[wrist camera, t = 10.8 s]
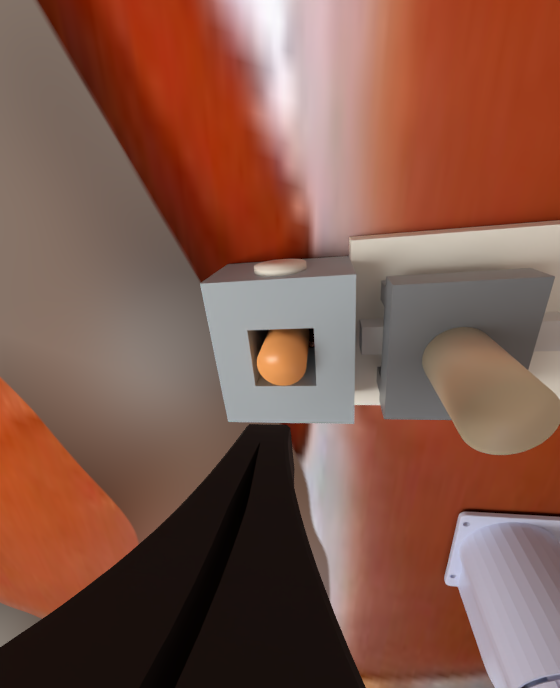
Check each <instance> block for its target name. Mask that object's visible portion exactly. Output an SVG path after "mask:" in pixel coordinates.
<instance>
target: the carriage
mask: <svg viewBox="0 0 560 688" xmlns="http://www.w3.org/2000/svg"><path fill="white" fill-rule="evenodd" d="M554 279H555V276H552V275H550V274H547V273H544V272H541V271H538V270H535V269H533V268H519V269H502V270H484V271H467V272H450V273H433V274H416V275H398V276H386V280H381V299H380V300H381V301H382V303H383V305H384V324H383V342H382V360H381V367H377V381H376V382H377V385H378V389H379V392H380V396H379V401H380V405H381V409H382V413H383V417H384V419H416V420H452V421H453V423H454V425H455V427H456V428H457V430H458V432H459V434H460V435H461V437H462V439H463V440H464V441H465V442H466V443H467V444H468V445H469V446H470V447H472V448H474V449H475V450H478V451H480V452H483V453H487V454H493V455H509V454H515V453H520V452H523V451H526V450H529V449H531V448H534V447H536V446H537V445H539V444H541V443H542V442H544V441H545V440H547V439H548V438H549V437H550V436H551V435H552V434H553V433H554V432H555V430H556V429H557V427H558V426H559V424H560V400H559V398H558V396H557V395H556V394H555V393H554V392H553V391H552V390H550V389H549V388H548V387H547V386H546V385H545V384H544V383H542V382H541V381H540V380H539V379H538V378H537V377H535V376H534V375H533V374H532V373H531V372H530V371H528V369H529V366H530V362H531V359H532V355H533V352H534V348H535V345H536V341H537V338H538V334H539V331H540V328H541V324H542V321H543V317H544V314H545V310H546V307H547V303H548V300H549V297H550V293H551V290H552V286H553V283H554Z"/></svg>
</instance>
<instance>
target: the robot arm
mask: <svg viewBox="0 0 560 688" xmlns="http://www.w3.org/2000/svg"><path fill="white" fill-rule="evenodd" d="M444 580H445V583H446V584H447V585H449V586H457V587H458V589H459V592H460V595H461V597H462V600H463V603H464V606H465V609H466V612H467V615H468V618H469V621H470V624H471V627H472V630H473V633H474V636H475V639H476V642H477V645H478V648H479V651H480V654H481V657H482V660H483V662H484V665H485V668H486V671H487V673H488V675H489V678H490V679H491V681H492V683H493V685H494V687H495V688H560V517H556V516H538V515H520V514H502V513H485V512H467V511H466V512H461V513H460V514H459V517H458V521H457V525H456V529H455V534H454V538H453V542H452V547H451V551H450V555H449V559H448V564H447V568H446V572H445V577H444ZM0 688H366V687H365V685H364V683H363V681H362V678H361V676H360V674H359V671H358V669H357V667H356V665H355V662H354V660H353V658H352V655H351V653H350V651H349V648H348V646H347V643H346V641H345V638H344V636H343V634H342V631H341V629H340V626H339V624H338V621H337V619H336V616H335V614H334V611H333V609H332V606H331V603H330V601H329V598H328V595H327V593H326V590H325V588H324V585H323V582H322V580H321V577H320V574H319V571H318V569H317V566H316V563H315V560H314V557H313V554H312V551H311V548H310V545H309V541H308V538H307V535H306V532H305V529H304V525H303V521H302V518H301V514H300V510H299V506H298V502H297V498H296V494H295V489H294V462H293V452H292V442H291V432H290V427H288V426H287V425H258V424H249V425H248V426H247V427H246V429H245V430H244V431H243V433H242V434H241V435H240V437H239V438H238V439H237V440H236V442H235V443H234V444H233V446H232V447H231V448H230V449H229V451H228V452H227V453H226V455H225V456H224V457H223V458H222V459H221V461H220V462H219V463H218V464H217V466H216V467H215V468H214V469H213V470H212V472H211V473H210V474H209V475H208V476H207V477H206V479H205V480H204V481H203V482H202V483H201V484H200V485H199V486H198V487H197V489H196V490H195V491H194V492H193V493H192V494H191V495H190V496H189V497H188V498H187V499H186V500H185V501H184V502H183V503H182V505H181V506H180V507H179V508H178V509H177V510H176V511H175V512H174V513H173V514H171V515H170V517H169V518H167V519H166V520H165V521H164V522H163V523H162V524H161V525H160V526H159V527H158V528H157V529H156V530H155V531H154V532H153V533H151V534H150V535H149V536H148V537H147V538H146V539H145V540H143V541H142V542H141V543H140V544H139V545H138V546H137V547H135V548H134V549H133V550H132V551H131V552H130V553H129V554H127V555H126V556H125V557H124V558H123V559H121V560H120V561H119V562H118V563H116V564H115V565H114V566H113V567H112V568H110V569H109V570H108V571H106V572H105V573H104V574H102V575H101V576H100V577H99V578H97V579H96V580H95V581H93V582H92V583H91V584H89V585H88V586H87V587H86V588H84V589H83V590H82V591H80V592H79V593H78V594H76V595H75V596H74V597H72V598H71V599H70V600H68V601H67V602H66V603H64V604H63V605H62V606H60V607H59V608H57V609H56V610H55V611H53V612H52V613H50V614H49V615H47V616H46V617H44V618H43V619H42V620H40V621H39V622H37V623H36V624H34V625H33V626H31V627H30V628H28V629H27V630H25V631H24V632H22V633H21V634H19V635H18V636H16V637H15V638H14V639H12V640H11V641H9V642H8V643H6V644H5V645H3V646H2V647H0Z"/></svg>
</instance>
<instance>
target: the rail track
mask: <svg viewBox="0 0 560 688" xmlns="http://www.w3.org/2000/svg"><path fill="white" fill-rule="evenodd" d="M349 257H350V260H351V262H352V265H353V267H354V270H355V273H356V324H355V396H354V405H380V401H379V396H380V392H379V389H378V385H377V382H376V381H377V367H381V360H382V342H383V324H384V305H383V303H382V301H381V300H380V299H381V280H386V276H398V275H416V274H433V273H450V272H467V271H484V270H502V269H519V268H533V269H535V270H538V271H541V272H544V273H547V274H550V275H552V276H555V279H554V283H553V286H552V290H551V293H550V297H549V300H548V303H547V307H546V310H545V314H544V317H543V321H542V324H541V328H540V331H539V334H538V338H537V341H536V345H535V348H534V352H533V355H532V359H531V362H530V366H529V369H528V371H530V372H531V373H532V374H533V375H534V376H535V377H537V378H538V379H539V380H540V381H541V382H542V383H544V384H545V385H546V386H547V387H548V388H549V389H550V390H552V391H553V392H554V393H555V394H556V395H557V396H558V398H559V400H560V220H556V221H543V222H531V223H518V224H505V225H493V226H480V227H467V228H455V229H442V230H429V231H417V232H404V233H392V234H379V235H366V236H354V237H349Z"/></svg>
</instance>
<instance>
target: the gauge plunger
mask: <svg viewBox="0 0 560 688" xmlns="http://www.w3.org/2000/svg"><path fill="white" fill-rule="evenodd" d="M309 338H310V333H309V329H308V328H303V329H273V330H269V331H268V333H267V336H266V338H265V340H264V343H263V345H262V347H261V350H260V352H259V354H258V357H257V368H258V371H259V372H260V374H261V376H262V377H263V378H264V379H265V380H267V381H268V382H270V383H272V384H275V385H279V386H287V385H292V384H294V383H296V382H298V381H299V380H300V379H301V378H302V377H303V375H304V374H305V371H306V365H307V356H308V347H309Z"/></svg>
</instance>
